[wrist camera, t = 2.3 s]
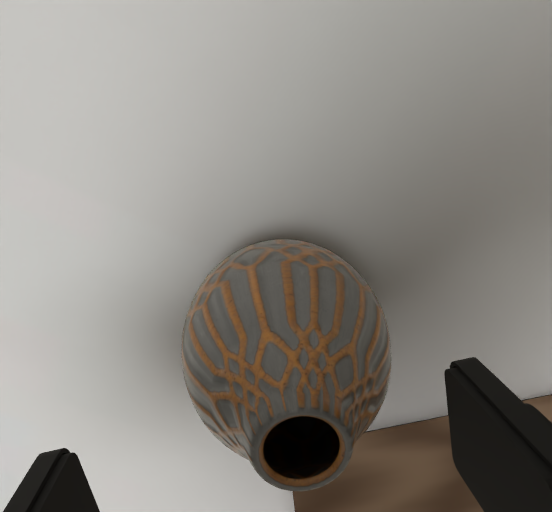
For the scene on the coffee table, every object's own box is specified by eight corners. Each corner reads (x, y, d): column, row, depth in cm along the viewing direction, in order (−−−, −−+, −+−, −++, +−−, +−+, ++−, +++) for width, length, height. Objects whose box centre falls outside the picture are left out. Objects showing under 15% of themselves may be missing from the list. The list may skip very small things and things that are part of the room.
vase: (392, 291, 18) (510, 431, 10) (285, 399, 20) (312, 603, 11) (269, 185, 17) (288, 248, 8) (162, 311, 18) (87, 474, 10)
